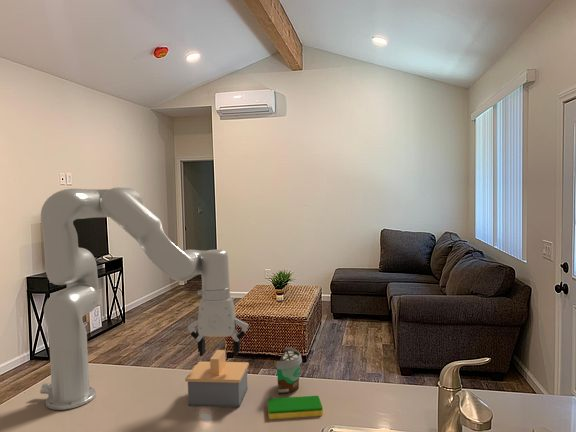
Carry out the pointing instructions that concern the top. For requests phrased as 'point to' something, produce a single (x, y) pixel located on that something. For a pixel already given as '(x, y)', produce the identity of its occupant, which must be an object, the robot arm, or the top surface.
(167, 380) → the top surface
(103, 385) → the top surface
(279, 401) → the dish sponge
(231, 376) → the lid
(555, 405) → the top surface
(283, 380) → the food container
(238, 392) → the tub
